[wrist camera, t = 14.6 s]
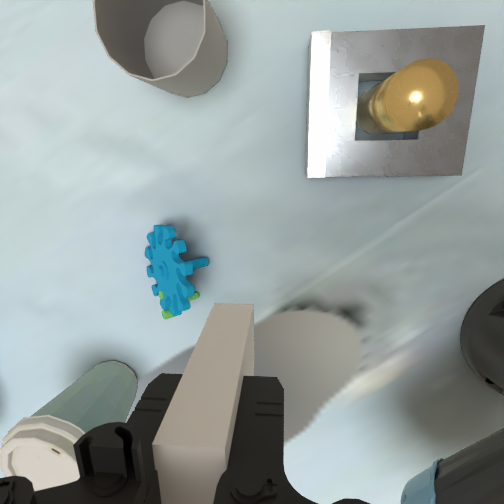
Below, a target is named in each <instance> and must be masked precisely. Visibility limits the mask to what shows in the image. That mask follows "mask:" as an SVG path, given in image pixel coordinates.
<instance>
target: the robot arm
mask: <svg viewBox="0 0 504 504" xmlns="http://www.w3.org/2000/svg"><path fill="white" fill-rule="evenodd" d="M460 340H461V348H462V352H463V355H464V357H465V359H466V361H467V363H468V364H469V366H470V367H471V368H472V369H473V370H474V372H475V373H476V374H477V375H478V376H479V378H480V379H481V380H482V381H483V382H484V383H486V384H487V385H488V386H489V387H491V388H492V389H494V390H495V391H497V392H499V393H501V394H502V395H504V280H502V281H500V282H499V283H497V284H495V285H494V286H492V287H491V288H489V289H488V290H487V291H485V292H484V293H483V294H482V295H481V296H480V297H479V298H478V299H477V300H476V301H475V303H474V304H473V305H472V307H471V308H470V309H469V311H468V313H467V315H466V317H465V319H464V322H463V325H462V329H461V338H460ZM253 373H254V312H253V304H217V303H214V305H213V308H212V310H211V312H210V314H209V317H208V319H207V321H206V323H205V326H204V328H203V330H202V333H201V335H200V337H199V339H198V342H197V344H196V346H195V349H194V351H193V353H192V355H191V358H190V360H189V362H188V364H187V366H186V369H185V371H184V373H183V374H165V373H162V374H160V375H159V376H158V377H157V378H155V379H154V380H153V381H152V382H151V383H149V384H148V386H147V388H146V389H145V391H144V393H143V395H142V397H141V400H139V402H138V404H137V405H136V407H135V411H133V412H132V414H131V416H130V418H129V419H128V421H127V423H124V422H111V423H106V424H103V425H100V426H97V427H94V428H93V429H91V430H90V431H88V432H87V433H85V434H83V435H82V436H81V437H80V438H79V439H78V440H77V441H76V443H75V444H74V445H73V447H74V452H75V456H76V461H77V466H78V470H79V475H80V477H79V479H78V480H77V481H74V482H71V483H68V484H64V485H60V486H55V487H51V488H47V489H42V490H38V491H34V488H33V484H32V482H31V481H30V480H29V479H27V478H26V477H23V476H9V477H4V478H0V504H318V503H315V502H313V501H311V500H309V499H307V498H305V497H303V496H302V495H300V494H299V493H298V492H297V491H296V490H295V489H294V488H293V487H292V485H291V484H290V483H289V481H288V479H287V477H286V475H285V472H284V465H283V447H284V428H283V427H284V389H283V387H282V385H281V383H280V382H279V380H278V379H277V377H261V376H253ZM332 504H370V503H367V502H364V501H362V500H359V499H342V500H339V501H337V502H334V503H332ZM401 504H504V428H503V429H502V430H500V431H498V432H496V433H494V434H492V435H490V436H488V437H486V438H484V439H482V440H480V441H479V442H477V443H475V444H473V445H471V446H469V447H467V448H465V449H463V450H461V451H459V452H457V453H455V454H454V455H452V456H450V457H448V458H446V459H442V458H441V459H438V460H436V461H435V462H434V463H433V465H432V466H431V467H430V468H428V469H426V470H425V471H423V472H422V473H420V474H418V475H417V476H415V477H413V478H412V479H410V480H409V481H408V482H407V484H406V485H405V487H404V489H403V492H402V496H401Z"/></svg>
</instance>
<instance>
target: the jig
mask: <svg viewBox="0 0 504 504" xmlns="http://www.w3.org/2000/svg"><path fill="white" fill-rule="evenodd" d="M484 28H485V25H481V26H460V27H439V28H417V29H396V30H375V31H354V32H333V33H331V30H330V31H312V33H311V37H310V41H309V45H308V79H307V117H306V155H305V174H306V176H307V177H308V178H310V177H351V176H452V175H462V169H463V162H464V156H465V150H466V143H467V137H468V130H469V124H470V118H471V111H472V105H473V99H474V92H475V86H476V79H477V73H478V67H479V60H480V54H481V47H482V41H483V35H484ZM424 58H434V59H438V60H441V61H443V62H445V63H446V64H448V65H449V66H450V67H451V68H452V70H453V71H454V73H455V75H456V78H457V81H458V96H457V100H456V103H455V105H454V108H453V109H452V111H451V112H450V114H449V115H448V116H447V117H446V118H445V119H444V120H443V121H442V122H441V123H439V124H437V125H436V126H434V127H431V128H428V129H424V130H414V131H405V133H404V140H375V141H355V127H356V112H357V97H358V82H359V81H367V80H385V79H387V78H388V77H390V76H391V75H393V74H395V73H396V72H398V71H399V70H401V69H402V68H404V67H405V66H407V65H409V64H410V63H412V62H414V61H417V60H419V59H424Z"/></svg>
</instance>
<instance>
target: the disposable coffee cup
mask: <svg viewBox="0 0 504 504" xmlns="http://www.w3.org/2000/svg"><path fill="white" fill-rule="evenodd" d="M137 384H138V382H137V379H136V376H135V373H134V372H133V371H132V370H131V369H130V368H129V367H128V366H127V365H126V364H123V363H120V362H117V361H107V362H103V363H99V364H98V365H96V366H95V367H94V368H93V369H91V370H90V371H89V372H87V373H86V374H85V375H83V376H82V377H81V378H80V379H78V380H77V381H76V382H74V383H73V384H72V385H71V386H69V387H68V388H67V389H65V390H64V391H63V392H61V393H60V394H59V395H58V396H56V397H55V398H54V399H52V400H51V401H50V402H49V403H47V404H46V405H45V406H43V407H42V408H41V409H40V410H38V411H37V412H36V413H34V414H33V415H32V416H30V417H25V418H23V419H22V420H21V421H19V422H18V423H17V424H16V425H15V426H14V427H13V428H12V429H11V430H10V431H8V434H7V435H6V436H5V437H4V438H3V442H2V447H1V448H0V468H1V470H2V471H3V473H4V475H5V477H9V476H23V477H26V478H27V479H29V480H30V481H31V482H32V484H33V488H34V491H38V490H42V489H47V488H51V487H55V486H60V485H64V484H68V483H71V482H74V481H77V480H78V479H79V477H80V475H79V470H78V466H77V461H76V456H75V452H74V447H73V445H74V444H75V443H76V441H77V440H78V439H79V438H80V437H81V436H82V435H83V434H85V433H87V432H88V431H90V430H91V429H93V428H94V427H97V426H100V425H103V424H106V423H111V422H124V423H125V420H126V418H127V416H128V413H129V411H130V408H131V406H132V403H133V401H134V398H135V396H136V392H137V388H138V386H137Z"/></svg>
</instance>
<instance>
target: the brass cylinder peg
mask: <svg viewBox="0 0 504 504" xmlns="http://www.w3.org/2000/svg"><path fill="white" fill-rule="evenodd" d="M457 96H458V81H457V78H456V75H455V73H454V71H453V70H452V68H451V67H450V66H449V65H448V64H446V63H445V62H443V61H441V60H438V59H434V58H424V59H419V60H417V61H414V62H412V63H410V64H409V65H407V66H405V67H404V68H402V69H401V70H399V71H398V72H396V73H395V74H393V75H391V76H390V77H388V78H387V79H385V80H384V81H382V82H380V83H379V84H377V85H376V86H374V87H373V88H371V89H370V90H368V91H367V92H365V93H364V94H363V95H362V96H361V98H360V99H359V101H358V103H357V112H356V121H357V123H358V125H359V126H360V128H361V129H362V130H364V131H365V132H367V133H370V134H384V133H394V132H404V131H414V130H424V129H428V128H431V127H434V126H436V125H437V124H439V123H441V122H442V121H443V120H444V119H445V118H446V117H447V116H448V115H449V114H450V112H451V111H452V109H453V108H454V105H455V103H456V100H457Z"/></svg>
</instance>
